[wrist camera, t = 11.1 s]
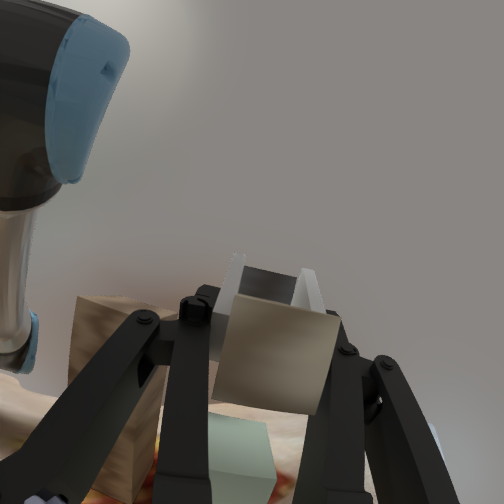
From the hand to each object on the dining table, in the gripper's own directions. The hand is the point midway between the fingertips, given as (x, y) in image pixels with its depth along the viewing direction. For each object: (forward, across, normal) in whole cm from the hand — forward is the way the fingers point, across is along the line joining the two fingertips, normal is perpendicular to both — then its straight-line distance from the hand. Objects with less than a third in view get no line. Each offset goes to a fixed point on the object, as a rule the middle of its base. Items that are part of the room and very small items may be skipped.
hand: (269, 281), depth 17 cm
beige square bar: (0, 0, -5) cm, 5 cm away
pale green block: (-11, 0, -36) cm, 37 cm away
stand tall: (-3, -15, -40) cm, 43 cm away
